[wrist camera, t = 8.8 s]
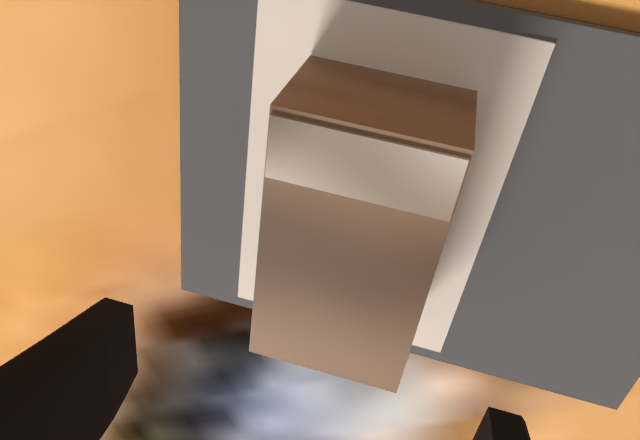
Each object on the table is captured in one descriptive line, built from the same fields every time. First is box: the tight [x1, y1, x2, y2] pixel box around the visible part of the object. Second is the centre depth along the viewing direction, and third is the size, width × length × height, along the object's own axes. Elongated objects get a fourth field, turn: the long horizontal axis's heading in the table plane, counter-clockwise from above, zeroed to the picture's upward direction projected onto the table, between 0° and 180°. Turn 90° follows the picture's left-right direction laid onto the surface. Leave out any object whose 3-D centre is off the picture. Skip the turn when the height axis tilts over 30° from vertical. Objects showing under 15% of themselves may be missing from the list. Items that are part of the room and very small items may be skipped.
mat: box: [179, 0, 640, 410], centre depth 17 cm, size 16×12×1 cm
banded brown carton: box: [249, 55, 477, 393], centre depth 16 cm, size 8×4×4 cm, turn 173°
